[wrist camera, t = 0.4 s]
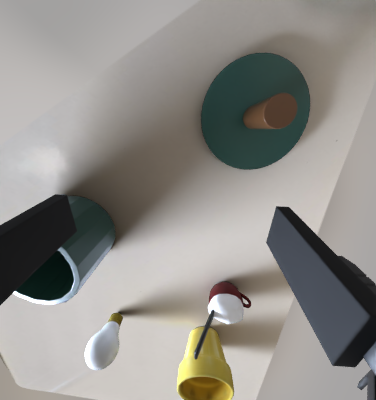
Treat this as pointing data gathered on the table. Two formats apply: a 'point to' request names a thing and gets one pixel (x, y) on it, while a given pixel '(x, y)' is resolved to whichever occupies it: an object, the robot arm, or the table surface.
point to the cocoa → (223, 308)
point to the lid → (255, 111)
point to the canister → (72, 256)
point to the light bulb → (104, 344)
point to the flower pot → (205, 370)
